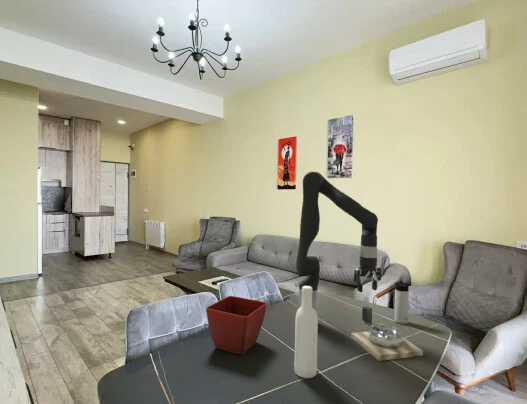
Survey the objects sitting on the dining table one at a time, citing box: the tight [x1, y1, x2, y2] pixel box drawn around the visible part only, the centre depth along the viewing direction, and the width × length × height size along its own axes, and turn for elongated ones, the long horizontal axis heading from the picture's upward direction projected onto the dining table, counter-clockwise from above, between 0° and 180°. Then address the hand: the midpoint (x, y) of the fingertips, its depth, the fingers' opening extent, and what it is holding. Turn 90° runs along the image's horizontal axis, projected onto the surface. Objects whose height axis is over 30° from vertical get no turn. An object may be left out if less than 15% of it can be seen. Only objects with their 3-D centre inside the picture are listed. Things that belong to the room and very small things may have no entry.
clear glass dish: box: [361, 305, 403, 348], centre depth 128 cm, size 19×13×10 cm
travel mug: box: [394, 282, 410, 326], centre depth 151 cm, size 6×7×20 cm
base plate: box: [350, 330, 424, 362], centre depth 125 cm, size 20×20×2 cm
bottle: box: [293, 286, 319, 379], centre depth 105 cm, size 8×8×30 cm
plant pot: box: [205, 295, 267, 356], centre depth 123 cm, size 19×19×17 cm
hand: (367, 290), depth 136 cm, fingers open, 8 cm apart
